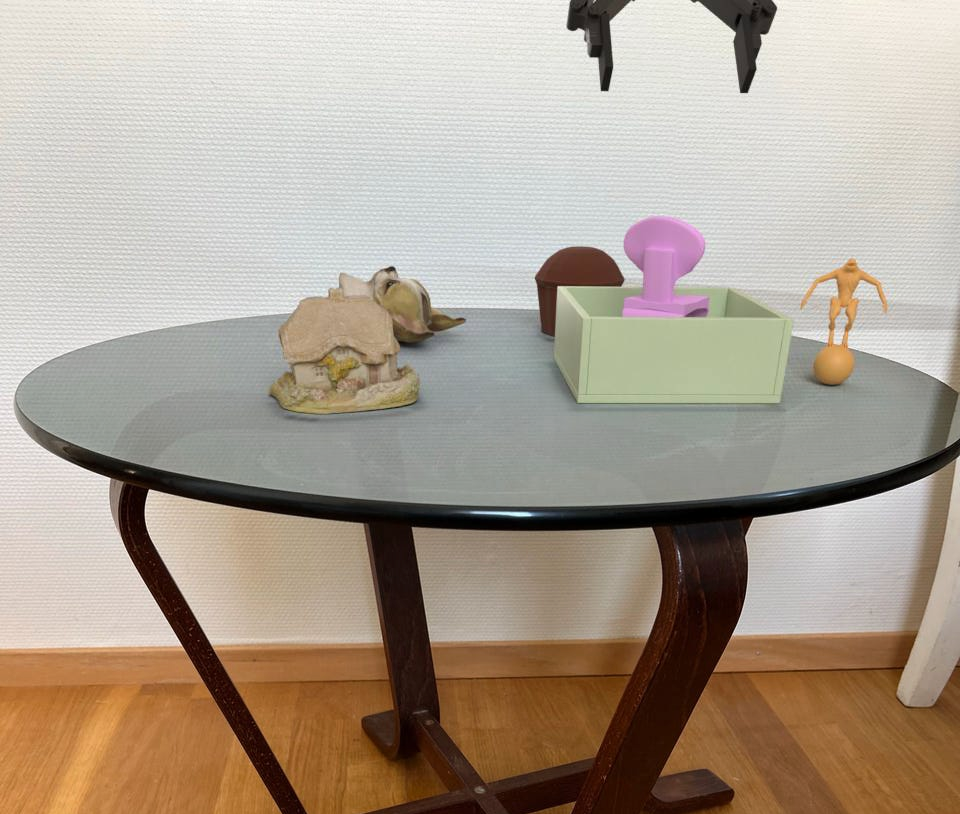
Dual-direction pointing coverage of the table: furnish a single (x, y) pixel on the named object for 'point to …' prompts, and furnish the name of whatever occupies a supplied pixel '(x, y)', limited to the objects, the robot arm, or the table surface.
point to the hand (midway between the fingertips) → (677, 80)
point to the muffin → (572, 277)
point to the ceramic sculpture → (401, 304)
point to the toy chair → (664, 267)
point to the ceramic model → (342, 357)
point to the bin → (670, 348)
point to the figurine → (838, 359)
